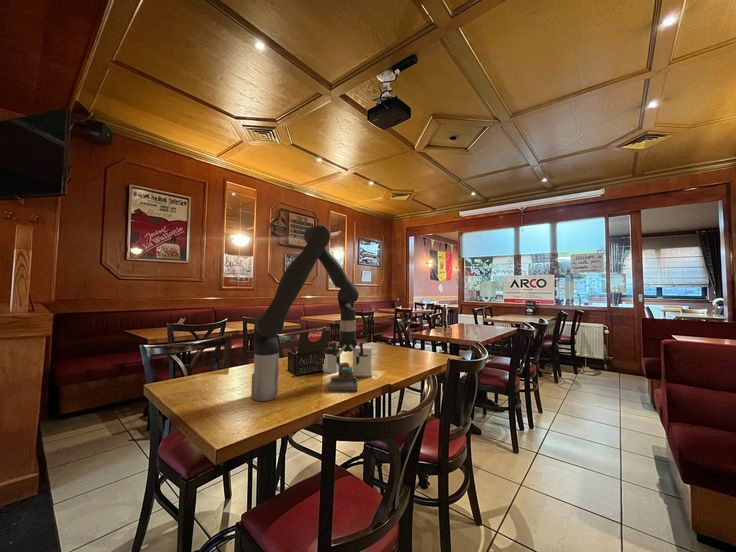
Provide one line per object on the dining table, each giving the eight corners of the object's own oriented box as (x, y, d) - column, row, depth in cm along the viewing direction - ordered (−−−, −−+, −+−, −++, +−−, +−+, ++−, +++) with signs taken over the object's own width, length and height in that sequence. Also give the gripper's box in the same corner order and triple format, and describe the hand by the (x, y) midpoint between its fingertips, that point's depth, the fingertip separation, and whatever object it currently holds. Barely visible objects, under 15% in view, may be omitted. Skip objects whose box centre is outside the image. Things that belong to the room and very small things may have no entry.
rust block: (340, 377, 147) (340, 365, 147) (338, 375, 151) (338, 362, 152) (349, 376, 148) (349, 364, 149) (347, 374, 153) (347, 362, 153)
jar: (342, 371, 158) (343, 348, 158) (329, 374, 153) (329, 350, 153) (333, 368, 165) (333, 345, 165) (320, 370, 160) (320, 347, 160)
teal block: (341, 382, 139) (342, 369, 139) (342, 379, 143) (342, 367, 143) (351, 382, 139) (351, 369, 139) (351, 379, 143) (352, 367, 144)
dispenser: (351, 377, 147) (352, 348, 148) (352, 373, 155) (352, 345, 156) (372, 377, 147) (372, 348, 148) (371, 373, 155) (371, 345, 156)
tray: (328, 391, 126) (328, 385, 126) (331, 383, 138) (331, 377, 138) (357, 391, 126) (357, 385, 126) (357, 383, 138) (357, 377, 138)
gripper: (332, 330, 138) (332, 366, 137) (363, 330, 138) (363, 366, 138) (333, 328, 146) (333, 362, 145) (363, 328, 146) (363, 362, 145)
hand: (348, 364), depth 141 cm, fingers open, 8 cm apart
